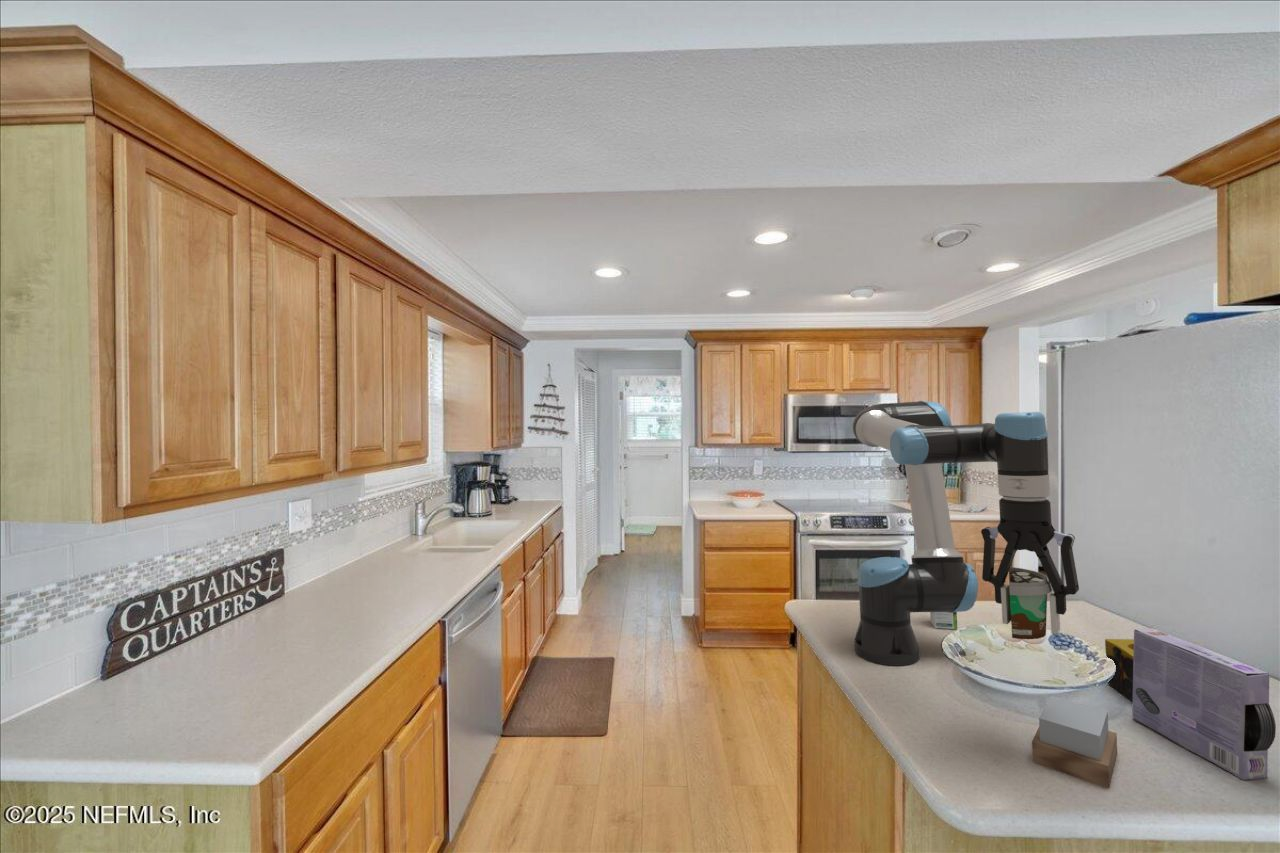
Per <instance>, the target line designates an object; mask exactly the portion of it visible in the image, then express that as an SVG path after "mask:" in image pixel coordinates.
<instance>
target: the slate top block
mask: <svg viewBox="0 0 1280 853" xmlns="http://www.w3.org/2000/svg"><path fill="white" fill-rule="evenodd" d="M1108 715H1109V712H1108V710H1105V709H1102V708H1098V707H1095V706H1090V705H1087V704H1084V703H1079V702H1077V701H1072V700H1068V699H1064V698H1061V697H1057V696H1054V695H1050V696H1049V698H1048V700H1047V702H1046V704H1045V706H1044V708H1043V710H1042V712H1041V713H1040V716H1039V718H1038V723H1039V724H1038V725H1039V726H1038V728H1039V727H1040V741H1041V742H1044V743H1047V744H1050V745H1053V746H1056V747H1060V748H1063V749H1066V750H1069V751H1072V752H1075V753H1078V754H1081V755H1084V756H1087V757H1090V758H1093V759H1096V760H1099V761H1101V759H1102V755H1103V752H1104V748H1105V744H1106V741H1107V737H1108V731H1109V716H1108Z"/></svg>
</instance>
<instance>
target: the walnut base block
mask: <svg viewBox="0 0 1280 853" xmlns="http://www.w3.org/2000/svg"><path fill="white" fill-rule="evenodd" d="M1117 734H1118V733H1117V732H1113V731H1111V730H1108V737H1107V741H1106V744H1105V748H1104V752H1103V755H1102V759H1101V761H1099V760H1096V759H1093V758H1090V757H1087V756H1084V755H1081V754H1078V753H1075V752H1072V751H1069V750H1066V749H1063V748H1060V747H1056V746H1053V745H1050V744H1047V743H1044V742H1041V741H1040V727H1039V726H1038V728H1037V730H1036V732H1035V734H1034V736H1033V739H1032V741H1031V747H1032V748H1031V749H1032V750H1031V751H1032V763H1034V764H1037V765H1041V766H1044V767H1046V768H1048V769H1049V768H1050V769H1052V770H1055V771H1057V772H1061V773H1064V774H1067V775H1070V776H1071V777H1075V778H1077V779H1080V780H1083V781H1086V782H1090V783H1093V784H1096V785H1098V786H1101V787H1104V788H1107V789H1110V787H1111V783H1112V779H1113V774H1114V770H1115V766H1116V765H1115V764H1116V761H1117V756H1118V738H1117Z"/></svg>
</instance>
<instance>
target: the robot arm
mask: <svg viewBox="0 0 1280 853" xmlns="http://www.w3.org/2000/svg"><path fill="white" fill-rule="evenodd" d="M951 420H952V419H951V417H950V414H949V412H948V411H947V410H946V408H945V407H944V406H943V405H942V404H941V403H939V402H936V401H924V400H919V401H908V402H907V401H906V402H905V401H904V402H891V403H887V402H886V403H885V402H883V403H877V404H873V405H870V406H867V407H866V408H864V409H862V410H861V411H859V413H858V414H857V415H856V416H855V417H854V419H853V422H852V432H853V436H854V437H855V439H856V440H857V441H858V442H860V443H861V444H862V445H865V446H867V447H870V448H882V449H885V450H886V451H889V452H890V454H891V457H892V458H893V460H894V462H895V463H897V465H904V468H905V475H906V481H907V482H906V483H907V490H908V497H909V503H910V510H911V518H912V526H913V533H914V539H915V546H916V549H915V551H914V553H913V554H912V555H911V557H910V558H911V564H909V563H908V561H907V560H906V559H905V558H902V557H897V556H894V557H892V556H882V557H881V556H880V557H876V558H875V557H874V558H871V559H868V560H865V561H864V562H862V563H861V564H860V566H859V567H858V578H857V584H858V595H859V596H858V597H859V614H860V615H859V619H860V621H859V623H858V626H857V630H856V633H855V635H854V640H853V642H854V643H853V644H854V645H853V646H854V648H853V649H854V651H855V653H856V654H857V655H858V656H859V657H861V658H862V659H864V660H867V661H869V662H873V663H875V662H876V664H879V663H880V665H884V666H885V665H886V666H887V665H888V666H907V665H908V666H909V665H912V664H915V663H916V662H918V661H919V660H920V658H921V650H920V646H919V645H920V644H919V643H918V641H917V640H918V639H917V637H916V635H915V632H914V629H913V627H912V624H911V613H930V612H948V613H954V612H957V613H961V612H968V611H970V610H971V609H973V607H974V605H975V603H976V601H977V599H978V594H979V593H978V592H979V582H978V577H977V574H976V573H975V569H974V567H973V566H972V565H971V564H970V563H967V562H965V561H964V556H963V554H961V553H960V552H959V551H957V549H956V547H955V541H954V535H953V529H952V524H951V523H952V522H951V517H950V516H951V515H950V510H949V504H948V498H947V490H946V485H945V484H946V483H945V478H944V472H943V466H942V465H943V464H958V463H959V464H961V463H967V464H968V463H985V462H986V463H987V462H988V463H997V464H996V466H997V487H998V495H999V496H1001V498H1000V499H999V500H998V504H999V523H998V524H997V526H994V527H991V526H987V527H984V528H982V529H981V530H980V533H981V536H982V539H983V559H982V573H981V574H982V576H981V577H982V581H984V582H988V583H989V584H992V585H993V587H994V599H995V600H994V601H995V603H996V604H1001V614H1002V615H1001V618H1002V620H1001V622H1002V624H1005V625H1009V623H1011V608H1010V590H1009V584H1006V580H1007V577H1008V576H1009V569H1010V567H1012V564H1013V562H1014V559H1015V556H1016V553H1017V552H1018V551H1028V552H1032V553H1033V552H1034V553H1035V555H1036V557H1037V558H1038V560H1039V562H1040V565H1041V566H1042V568H1043V571H1044V573H1045V576H1046V577H1047V579H1048V580H1049V582H1050V585H1051V589H1052V590H1053V591H1051V592H1050V593H1049V598H1048V599H1049V608H1050V609H1049V614H1050V633H1051V634H1055V635H1057V634H1059V632H1060V631H1061V619H1060V615H1063V616H1064V615H1065V614H1066V612H1067V596H1069V595H1072V596H1073V595H1076V593H1078V592H1079V589H1080V587H1079V580H1078V573H1077V568H1076V563H1075V556H1074V551H1073V546H1074V542H1075V540H1076V538H1075V536H1074V534H1072V533H1068V534H1066V533H1062V532H1059V531H1057V530H1056V529H1055V528H1054V526H1053V524H1052V511H1051V510H1052V508H1051V501H1050V500H1049V499H1047V498H1048V497H1050V496H1051V488H1050V474H1049V450H1048V449H1049V446H1048V445H1049V444H1048V435H1049V432H1048V430H1047V425H1046V416H1045V415H1044V414H1043V413H1042V412H1040V411H1028V412H1024V411H1023V412H1006V413H998V414H997V415H996V416H995V419H994V423H992V422H986V423H983V422H981V423H976V424H973V423H972V424H958V425H957V424H956V425H955V424H954V425H952V421H951ZM999 534H1000V535H1001V537H1002V538H1003V539H1004V540H1005V541H1006V546H1005V549H1004V553H1003V556H1002V559H1001V561H1000V564H999V567H998V569H997V572H996V573H994V572H995V559H996V558H995V557H996V539H997V538H998V537H999ZM1052 539H1055V540H1056V545H1057V546H1059V547H1060V555H1061V561H1062V562H1061V563H1062V567H1063V574H1064V578H1065V584H1066V585H1065V584H1064V582H1063V580H1062V578H1061V576H1060V573H1059V571H1058V569H1057V566H1056V565H1055V564H1056V563H1054V560H1053V558H1052V556H1051V552H1050V550H1049V548H1048V546H1047V545H1048V543H1049V542H1051V541H1052ZM994 574H995V575H994Z"/></svg>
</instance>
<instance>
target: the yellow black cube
mask: <svg viewBox="0 0 1280 853" xmlns="http://www.w3.org/2000/svg"><path fill="white" fill-rule="evenodd" d="M1104 646H1105V649H1104V650H1105V655H1106V656H1107V657H1108V658H1110V659H1112V660H1113V661H1114V663H1115V665H1116V672H1115V675H1114V676H1113V678H1112V679H1111V680H1110V681H1109V682H1107V684H1108V685H1109V686H1110V687H1111V688H1113V689H1114V690H1116V691H1117V693H1119V694H1121V695H1122V696H1124V698H1126V699H1128V700H1129V701H1130V702H1132V703H1133V657H1134V638H1133V639H1128V638H1127V639H1126V638H1118V639H1117V638H1105V640H1104ZM1106 656H1105V657H1106ZM1107 657H1106V658H1107Z"/></svg>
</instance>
